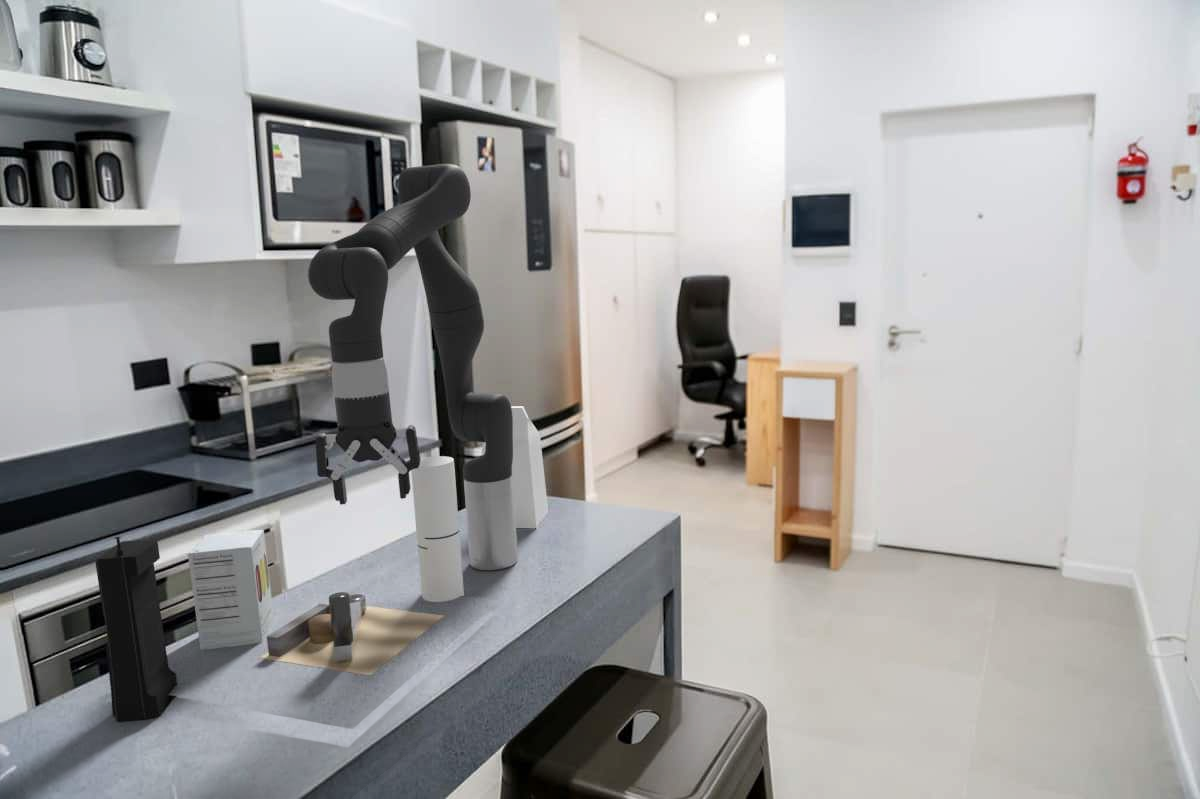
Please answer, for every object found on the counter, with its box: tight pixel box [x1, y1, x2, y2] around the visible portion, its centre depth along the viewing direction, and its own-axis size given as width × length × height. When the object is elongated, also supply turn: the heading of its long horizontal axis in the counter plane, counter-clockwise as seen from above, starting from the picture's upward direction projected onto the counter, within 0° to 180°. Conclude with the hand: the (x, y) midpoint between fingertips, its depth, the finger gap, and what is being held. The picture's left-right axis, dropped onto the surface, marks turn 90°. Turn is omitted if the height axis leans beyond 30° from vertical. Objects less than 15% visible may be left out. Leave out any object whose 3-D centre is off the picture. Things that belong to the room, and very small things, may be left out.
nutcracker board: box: [259, 603, 445, 676], centre depth 128 cm, size 20×20×4 cm
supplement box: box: [187, 529, 275, 650], centre depth 130 cm, size 10×9×17 cm
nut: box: [308, 614, 333, 644], centre depth 127 cm, size 4×4×3 cm
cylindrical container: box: [410, 455, 465, 603], centre depth 141 cm, size 7×7×25 cm
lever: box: [328, 591, 367, 661], centre depth 128 cm, size 19×4×9 cm, turn 11°
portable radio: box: [95, 536, 178, 722], centre depth 111 cm, size 8×6×25 cm
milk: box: [481, 405, 549, 529], centre depth 184 cm, size 12×12×26 cm
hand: (373, 500), depth 120 cm, fingers open, 8 cm apart
